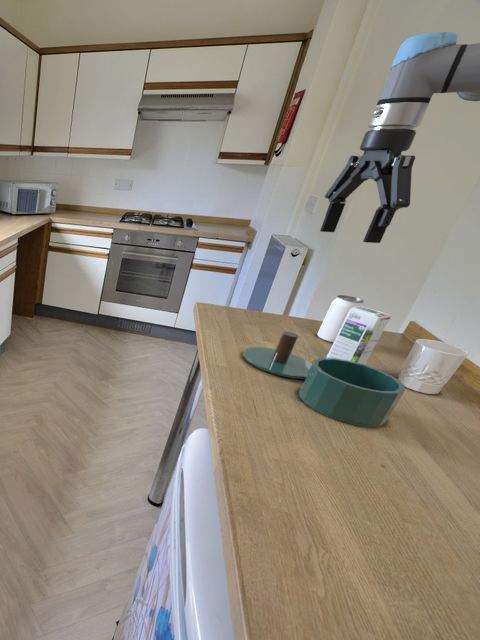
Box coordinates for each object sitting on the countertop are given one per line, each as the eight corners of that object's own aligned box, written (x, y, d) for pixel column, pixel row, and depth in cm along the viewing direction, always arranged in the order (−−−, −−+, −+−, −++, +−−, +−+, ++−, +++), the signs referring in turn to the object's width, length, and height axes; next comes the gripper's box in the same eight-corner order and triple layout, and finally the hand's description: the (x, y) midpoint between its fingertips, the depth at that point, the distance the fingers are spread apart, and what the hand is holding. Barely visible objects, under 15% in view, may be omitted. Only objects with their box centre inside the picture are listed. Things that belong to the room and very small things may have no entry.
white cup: (393, 373, 97) (415, 335, 92) (441, 387, 92) (467, 347, 87) (392, 385, 92) (415, 345, 87) (442, 400, 87) (470, 359, 82)
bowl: (383, 406, 83) (401, 374, 80) (386, 436, 74) (407, 402, 71) (302, 381, 91) (316, 351, 88) (295, 405, 82) (310, 373, 79)
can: (325, 342, 112) (345, 301, 106) (311, 333, 117) (329, 293, 112) (351, 345, 111) (372, 303, 106) (336, 335, 117) (355, 295, 111)
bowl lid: (317, 365, 99) (332, 334, 95) (312, 388, 89) (328, 354, 85) (248, 346, 107) (259, 317, 104) (236, 364, 97) (248, 333, 94)
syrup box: (322, 362, 101) (349, 307, 94) (336, 358, 103) (363, 304, 96) (349, 373, 96) (379, 316, 90) (363, 369, 98) (393, 313, 92)
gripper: (329, 132, 94) (295, 227, 102) (426, 123, 71) (372, 246, 80) (364, 133, 93) (327, 228, 102) (474, 125, 70) (415, 248, 79)
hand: (347, 236), depth 91 cm, fingers open, 13 cm apart
